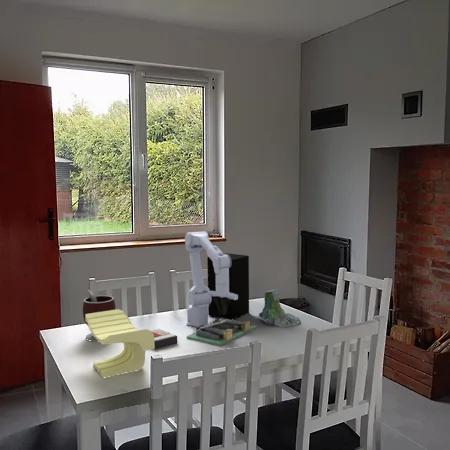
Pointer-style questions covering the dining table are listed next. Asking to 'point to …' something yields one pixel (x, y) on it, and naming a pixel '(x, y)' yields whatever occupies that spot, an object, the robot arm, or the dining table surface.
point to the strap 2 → (231, 321)
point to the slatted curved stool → (119, 341)
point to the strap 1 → (212, 324)
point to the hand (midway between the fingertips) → (222, 314)
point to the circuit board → (221, 342)
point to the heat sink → (221, 330)
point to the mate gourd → (97, 307)
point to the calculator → (163, 338)
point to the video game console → (232, 287)
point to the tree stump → (276, 312)
